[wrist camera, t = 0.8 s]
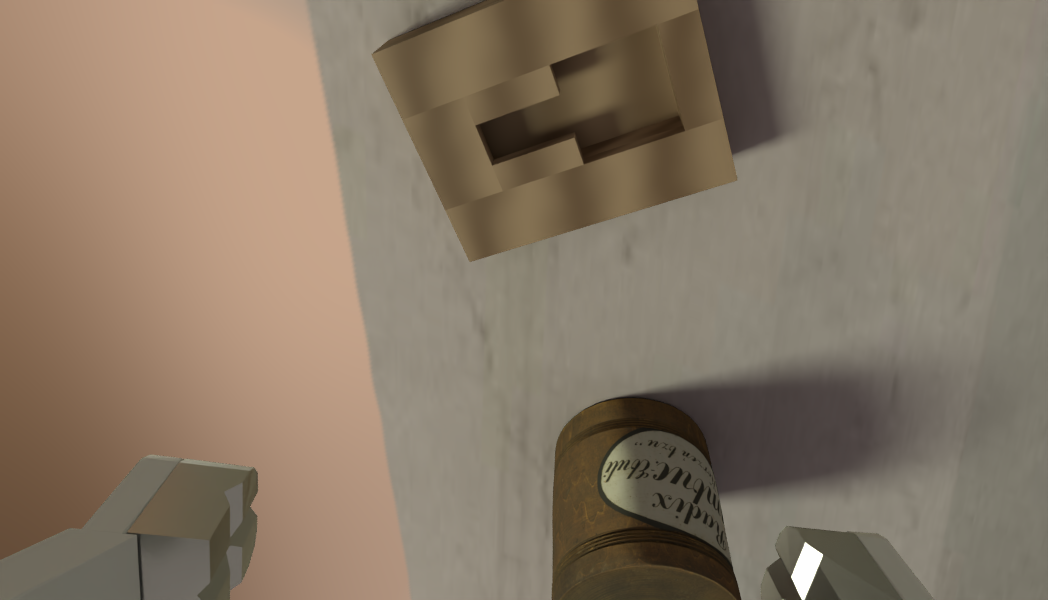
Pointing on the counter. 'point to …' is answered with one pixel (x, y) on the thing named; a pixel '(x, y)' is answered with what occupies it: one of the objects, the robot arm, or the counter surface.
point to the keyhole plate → (558, 113)
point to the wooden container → (637, 508)
